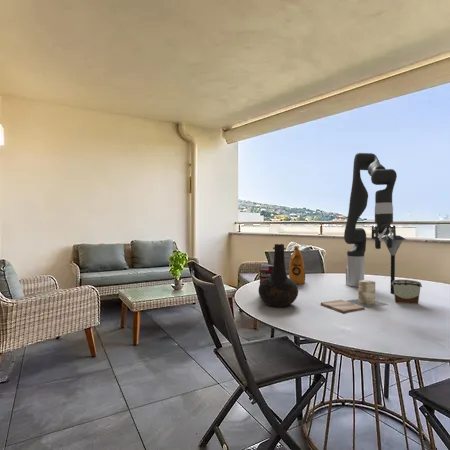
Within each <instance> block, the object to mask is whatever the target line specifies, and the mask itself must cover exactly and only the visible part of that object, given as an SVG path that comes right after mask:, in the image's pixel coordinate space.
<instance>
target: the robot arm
mask: <svg viewBox="0 0 450 450" xmlns="http://www.w3.org/2000/svg"><path fill="white" fill-rule="evenodd" d="M353 159H354V160H353V169H352V171H353V172H352V181H351V182H352V183H351V189H350V196H349V205H348V214H347V219H346V223H345V228H344V233H343V238H344V242H345V243H346V244H347V245H353V247H351V248H350V249H348V250H347V251H346V254H347V255H346V268H345V285H347V286H349V287H355V288H357V287H358V288H359V281H361V280H365V253H366V250H367V249H366V247H367V232H366V230H365V229H364V228H363V227H357V222H358V220H359V218H360V217H361V216H362V214H363V213H364V212H365V210H366V208H367V206H368V202H369V200H368V199H369V192H368V190H367V188H366V186H365V184H364V182H363V180H362V176H361V171H367V174H368V175H369V176H370V179H371V180H370V181H371V183H372V185H377V186H386V187H384V188H383V189H379V190H376V191H375V194H374V195H375V197H374V199H375V201H374V203H375V204H374V223H375V224H376V225H372V226H371V239H372V240H374V245H375V246H374V248H375V249H376V250H380V249H382V245H381V243H382V239H381V238H382V237H384V236H386V238H387V239H388V240H387V246H386V247H387V249H388V248H392V246H393V242H392V240H393V239H394V238H396V235H397V234H396V233H397V231H396V225H393V223H394V205H393V192H394V188H395V184H396V181H397V177H398V175H397V172H396V170H395V169H393V168H386V167H385V166H383V164H381V161H380V160H379V158H378V157H377V154H375V153H372V152H357V153H355V156H354V158H353ZM391 224H392V225H391ZM392 235H393V236H392Z"/></svg>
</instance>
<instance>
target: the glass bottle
mask: <svg viewBox="0 0 450 450" xmlns="http://www.w3.org/2000/svg"><path fill="white" fill-rule="evenodd" d="M272 249H273V250H274V252H273V253H274V257H273V264H272V265H273V270H272V274H271V276H270V277H269V278H267V279H265V280H263V281H262V282H261V283H260V282H259V285H258V295H259V297H260V299H261V300H262V302H264V303H265V305H269V306H271V307H276V308H283V307H284V308H285V307H288V306H291V305H292V304H293V303H294V302H295V301H296V300H297V298H298V295H299V288H298V286H297V285H298V284H296V283H295V282H294V281H292V280H291V279H290V278H289V276H288V274H287V272H286V263H285V262H286V261H285V250H287V248H286V247H285V244H283V243H279V244H278V243H276V244H274V246H273V247H272Z"/></svg>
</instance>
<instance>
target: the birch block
mask: <svg viewBox="0 0 450 450" xmlns="http://www.w3.org/2000/svg"><path fill="white" fill-rule="evenodd" d="M358 299H359V302H360V303H363V304H367V305H368V304H374V303H375V301H376V281H373V280H368V279H364V280H361V281H359V287H358Z"/></svg>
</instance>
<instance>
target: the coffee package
mask: <svg viewBox="0 0 450 450" xmlns="http://www.w3.org/2000/svg"><path fill="white" fill-rule="evenodd" d="M293 249H294V251H293V252H292V254H291V256H290V259H289V263H288V278H289V279H291V280H292V281H294V282H295V283H296V285H304V284H305V281H306V268H305V261H304V258H303V253H302V252H301V250H300V249H299V245H294V246H293Z"/></svg>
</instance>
